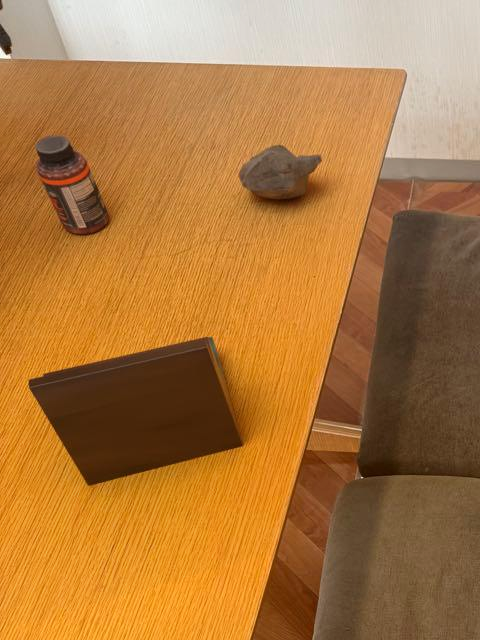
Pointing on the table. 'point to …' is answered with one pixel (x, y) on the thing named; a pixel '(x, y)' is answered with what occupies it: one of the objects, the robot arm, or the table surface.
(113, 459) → the brown wooden box
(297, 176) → the fossil
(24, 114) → the table surface
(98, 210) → the supplement bottle
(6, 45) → the robot arm
